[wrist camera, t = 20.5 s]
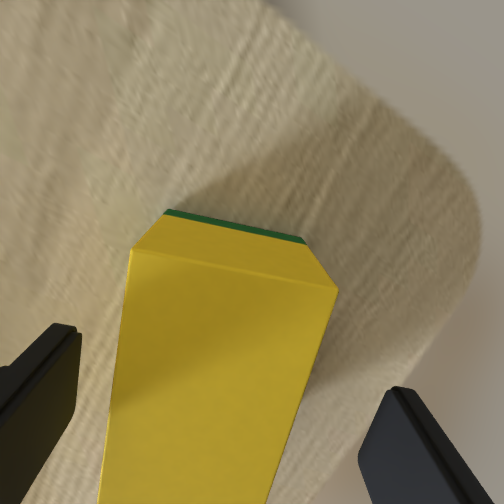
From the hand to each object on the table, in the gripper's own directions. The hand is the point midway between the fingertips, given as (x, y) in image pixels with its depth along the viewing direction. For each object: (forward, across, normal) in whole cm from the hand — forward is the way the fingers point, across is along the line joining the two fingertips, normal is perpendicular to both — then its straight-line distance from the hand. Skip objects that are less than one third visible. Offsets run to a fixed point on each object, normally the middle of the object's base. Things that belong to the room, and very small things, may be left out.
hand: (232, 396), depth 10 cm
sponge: (+4, +1, 0) cm, 4 cm away
